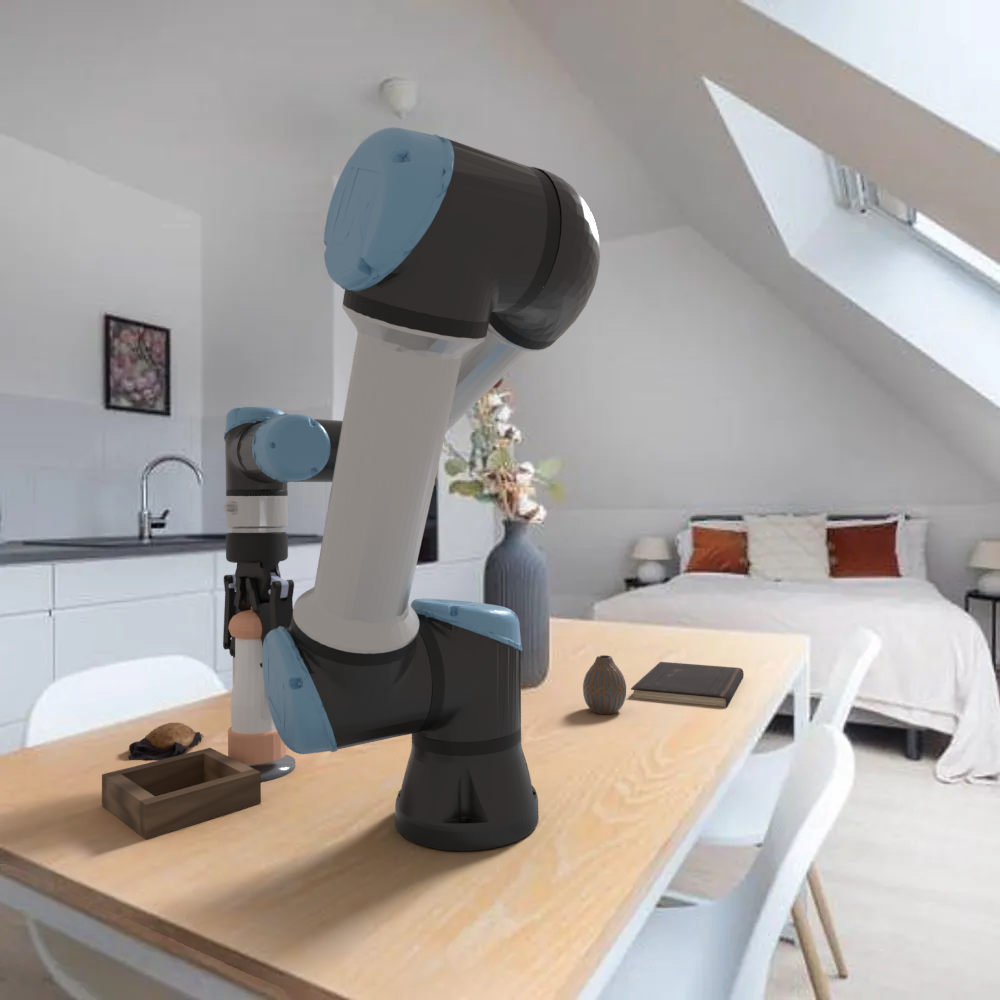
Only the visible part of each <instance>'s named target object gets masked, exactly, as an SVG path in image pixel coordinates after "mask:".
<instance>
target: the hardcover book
mask: <svg viewBox="0 0 1000 1000" xmlns="http://www.w3.org/2000/svg"><path fill="white" fill-rule="evenodd" d="M744 675H745V674H744V670H743V668H741V667H732V666H723V665H707V664H695V663H693V664H692V663H681V662H667V661H660V662H658V663H657V664H656V665H655V666H654V667H653V668H651V670H649V672H647V673H646V674H645V675H644V676H643V677H642V678H640V679H639V680H638V681H637V682H636V683H635V684H634V685H632V687H631V688H630V690H632V691H633V694H632V696H633V698H634V699H643V700H644V699H645V700H652V701H663V702H671V703H684V704H693V705H702V706H712V707H713V706H714V707H724V708H728V707H729V705H730V703H731V701H732V699H733V697H734V696H735V693H736V692H737V690H738V688H739V686H740V684H741V682H742V681H743V679H744Z"/></svg>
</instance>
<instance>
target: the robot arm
mask: <svg viewBox="0 0 1000 1000" xmlns="http://www.w3.org/2000/svg"><path fill="white" fill-rule="evenodd" d="M326 214H327V215H326V220H325V224H324V225H325V226H324V234H323V243H324V245H325V246H326V248H325V250H324V257H323V258H324V265H325V268H326V272H327V274H328V275H329V276H328V277H330V279H331V280H332V282H334V283H335V284H336V285H338V286H339V287H341V288H342V289H343V290H344V292H343V299H342V307H341V308H342V309H343V311H344V312H345V313H346V316H348V318H349V320H350V321H351V322H352V324H353V325H354V327H355V329H356V332H357V335H356V341H355V347H354V352H353V359H352V364H351V370H350V376H349V383H348V388H347V393H346V400H345V406H344V411H343V418H342V420H336V419H335V420H334V419H320V418H312V417H311V416H308V415H306V414H300V413H294V414H293V413H292V414H289V413H285V412H284V411H283V410H282V409H279V408H273V407H267V406H266V407H265V406H262V407H261V406H243V407H235V408H232V409H230V410H229V411H228V412H227V413H226V417H225V418H226V419H225V429H224V430H225V431H224V433H223V439H224V441H225V442H224V443H225V445H224V446H225V447H224V448H225V449H224V450H225V451H224V452H225V490H226V491H225V496H226V497H225V505H224V506H223V511H224V512H226V513H225V514H226V516H225V517H226V518H225V520H226V522H225V524H226V528H227V529H231V532H227V535H225V558H226V561H227V562H229V563H233V564H234V563H235V564H236V567H235V568H236V569H235V573H234V574H225V575H224V576H223V586H224V592H225V593H224V610H223V611H224V614H223V632H222V633H223V635H222V638H223V640H222V646H223V649H224V650H229V654H230V657H232V683H233V682H234V675H235V637H233V636H231V634H230V632H229V629H228V626H229V623H230V620H231V619H232V617H233V616H234V615H236V614H238V613H240V612H242V611H246V610H253V612H254V613H256V614H257V616H258V617H259V619H260V622H261V625H262V634H261V641H262V647H263V649H262V663H260V666H261V719H263V720H267V719H273V722H274V725H275V727H276V730H277V732H278V734H279V736H280V738H281V739H282V741H283V742H284V744H285V745H286V746H287V747H288V750H290V751H291V752H293V753H296V754H299V755H309V754H311V755H312V754H316V753H317V754H318V753H325V752H326V753H327V752H331V753H334V752H337V751H338V750H342V749H346V748H350V747H352V748H353V747H356V746H360V745H364V744H365V745H366V744H369V743H375V742H379V741H383V740H388V739H393V738H397V737H401V736H402V737H403V736H407V735H408V736H409V735H411V750H410V753H409V757H408V761H407V765H406V768H405V772H404V776H403V779H402V784H401V789H400V790H398V793H397V796H396V798H395V806H394V807H395V808H394V812H395V815H394V819H395V820H394V821H395V823H394V824H395V827H396V829H397V832H399V833H400V834H401V836H403V837H404V838H406V839H407V840H409V841H411V842H413V843H415V844H417V845H421V846H424V847H427V848H432V849H437V850H442V851H443V850H444V851H454V852H455V851H459V852H463V851H464V852H465V851H469V852H470V851H481V850H489V849H494V848H499V847H503V846H507V845H510V844H512V843H515V842H517V841H521V839H524V838H525V837H527V836H529V834H531V833H532V832H533V831H534V830H535V829H536V827H537V826H538V823H539V797H538V793H537V791H536V788H535V787H534V786H533V785H532V780H531V775H530V771H529V767H528V764H527V760H526V759H527V758H526V757H525V753H524V750H523V746H522V678H521V677H522V676H521V675H522V673H521V672H522V669H521V668H522V664H521V661H522V657H521V656H522V655H521V654H522V653H523V646H522V639H521V630H520V628H521V627H520V625H521V624H520V620H519V617H518V615H517V614H516V613H515V612H514V611H513V610H512V609H510V608H508V607H506V606H502V605H496V604H490V603H484V602H476V601H466V600H457V599H455V600H454V599H442V598H425V597H423V598H415V599H413V600H412V601H411V602H410V604H409V601H410V595H411V591H412V587H413V582H414V578H415V573H416V569H417V563H418V559H419V555H420V550H421V546H422V540H423V536H424V532H425V527H426V524H427V519H428V514H429V511H430V505H431V500H432V496H433V492H434V486H435V482H436V478H437V474H438V473H437V472H438V469H439V464H440V460H441V455H442V450H443V447H444V442H445V436H446V433H447V432H448V431H449V430H450V429H451V428H452V427H453V426H454V425H455V424H456V423H457V422H459V420H461V418H462V417H464V415H466V413H468V411H470V410H471V409H472V408H473V407H474V406H475V405H476V404H477V403H478V402H479V401H480V400H481V399H482V398H483V397H484V396H485V395H486V394H487V393H489V391H490V390H491V389H492V388H493V387H495V385H496V384H497V383H498V382H500V380H502V379H503V378H504V377H505V376H506V374H508V373H509V372H510V371H511V370H512V369H513V368H514V367H515V366H516V365H517V364H518V363H519V362H520V361H521V360H523V359H524V357H525V356H526V355H528V353H530V352H540V351H544V350H546V349H548V348H549V347H551V346H552V345H553V344H554V343H555V342H556V341H557V340H559V338H561V336H563V335H564V334H565V333H566V332H567V330H568V329H569V328H570V327H571V326H572V325H573V324H574V323H575V322H576V320H577V319H578V318H579V316H580V315H581V313H582V312H584V311H583V310H584V309H585V308H586V306H587V304H588V301H589V299H590V297H591V295H592V293H593V291H594V288H595V285H596V282H597V279H598V278H597V277H598V274H599V273H598V272H599V268H600V262H601V261H600V260H601V252H600V251H601V249H600V248H601V247H600V246H601V245H600V237H599V233H598V229H597V225H596V221H595V219H594V216H593V214H592V212H591V211H590V208H589V206H588V204H587V203H586V201H585V200H584V199H583V197H582V196H581V195H580V194H579V192H578V191H577V190H576V188H575V187H573V186H572V185H571V184H570V183H568V182H567V181H566V180H565V179H563V178H562V177H560V176H558V175H557V174H554V173H553V172H550V171H548V170H546V169H542V168H539V167H535V166H527V165H525V164H522V163H519V162H516V161H513V160H510V159H507V158H505V157H503V156H502V157H501V156H498V155H496V154H494V153H490V152H487V151H484V150H482V149H478V148H475V147H473V146H469V145H466V144H465V143H461V142H458V141H456V140H453V139H450V138H447V137H444V136H440V135H438V134H430V133H424V132H420V131H416V130H411V129H405V128H401V127H386V128H382V129H378V130H377V131H375V132H373V133H372V134H370V135H369V136H367V138H365V139H364V140H363V141H362V142H361V143H360V144H359V145H358V146H357V148H356V149H355V151H354V152H353V153H352V154H351V156H350V157H349V158H348V159H347V161H346V164H345V165H344V167H343V169H342V171H341V174H340V176H339V178H338V180H337V182H336V185H335V187H334V189H333V192H332V196H331V200H330V203H329V207H328V210H327V213H326ZM292 482H293V483H331V487H330V492H329V493H330V494H329V498H328V499H329V500H328V504H327V505H328V506H327V511H326V517H325V521H324V528H323V534H322V540H321V546H320V552H319V557H318V564H317V569H316V574H315V581H314V587H312V588H310V589H307V590H306V591H304V592H303V593H302V594H301V595H299V596H298V597H297V599H296V600H295V603H294V604H293V602H294V601H293V597H294V589H295V582H294V580H293V579H286V580H285V579H283V578H282V577H281V572H280V566H279V564H280V562H284V561H287V559H288V558H289V535H288V534H287V531H284V528H287V527H288V526H289V505H288V503H289V499H288V498H289V497H288V496H289V495H288V483H292ZM251 606H252V609H251Z"/></svg>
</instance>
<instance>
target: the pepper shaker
mask: <svg viewBox="0 0 1000 1000" xmlns="http://www.w3.org/2000/svg"><path fill="white" fill-rule="evenodd" d="M251 609H252V606H251ZM228 629H229V632H230V634H231V636H233V637H235V675H234V682H233V681H232V689H231V695H230V701H229V702H230V723H231V724H230V725H231V726H230V727H229V728H228V730H227V756H228V757H230V758H233V759H235V760H237V761H239V762H241V763H243V764H261V763H267V762H271V761H275V760H278V759H280V758H282V757H284V756H286V755H288V754H289V748H288V747H287V746H286V745H285V744H284V742H283V741H282V739H281V738H280V736H279V734H278V732H277V730H276V727H275V725H274V722H273V719H267V720H263V719H261V666H260V663H262V649H263V647H262V641H261V634H262V625H261V622H260V619H259V617H258V616H257V614H256V613H254V612H253V610H246V611H242V612H240V613H238V614H236V615H234V616H233V617H232V619H231V620H230V623H229V626H228Z"/></svg>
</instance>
